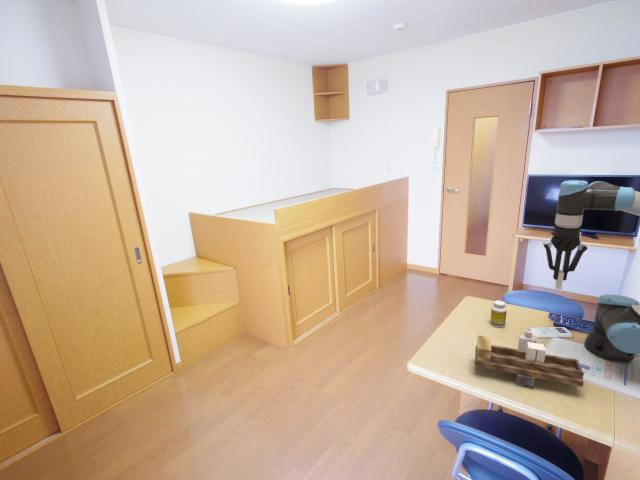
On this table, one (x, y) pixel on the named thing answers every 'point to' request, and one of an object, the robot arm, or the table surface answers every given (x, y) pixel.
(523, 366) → the beam
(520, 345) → the white rectangular bottle
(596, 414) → the table surface
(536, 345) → the block
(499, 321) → the pill bottle
